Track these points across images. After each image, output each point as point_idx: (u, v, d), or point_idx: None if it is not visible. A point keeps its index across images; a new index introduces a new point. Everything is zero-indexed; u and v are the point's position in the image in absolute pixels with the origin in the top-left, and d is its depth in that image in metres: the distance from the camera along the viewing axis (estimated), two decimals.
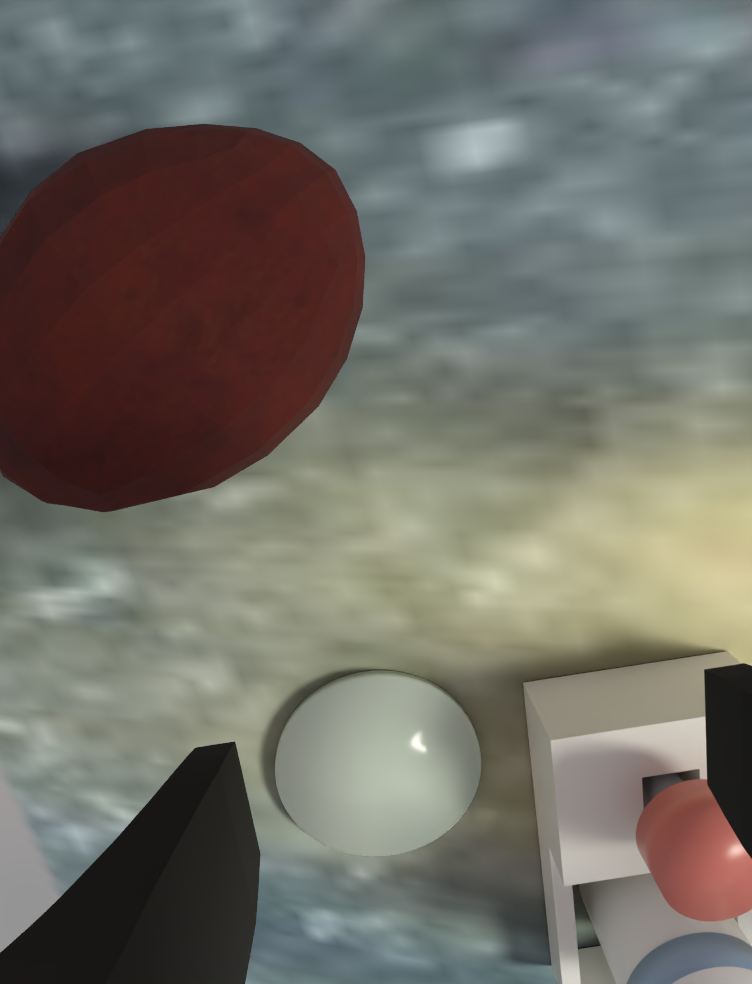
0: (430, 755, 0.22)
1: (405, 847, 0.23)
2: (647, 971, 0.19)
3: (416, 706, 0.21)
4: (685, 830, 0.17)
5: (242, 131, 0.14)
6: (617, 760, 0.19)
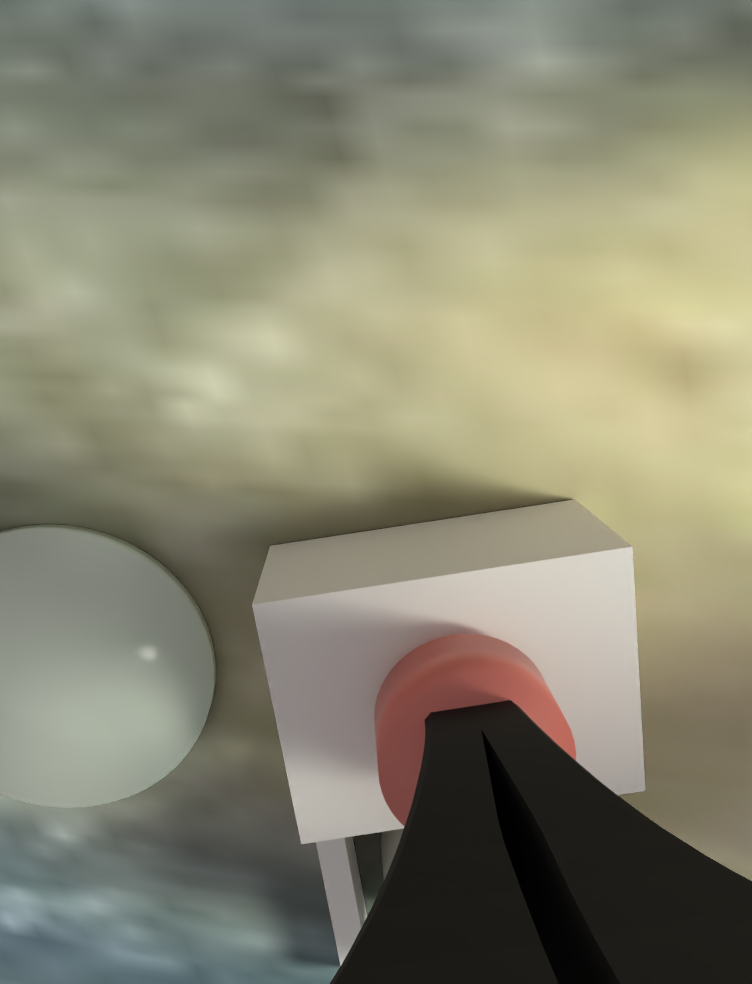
0: (133, 654, 0.15)
1: (112, 795, 0.15)
2: None
3: (103, 578, 0.14)
4: (414, 698, 0.10)
5: None
6: (365, 639, 0.12)
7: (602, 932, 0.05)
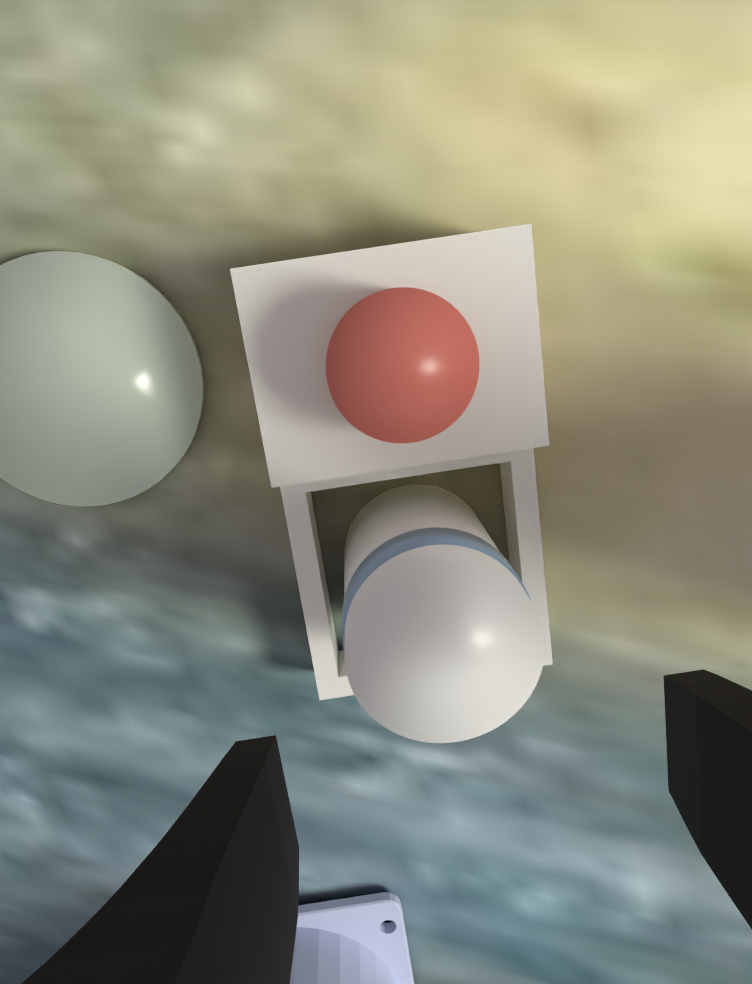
0: (135, 365, 0.18)
1: (118, 495, 0.19)
2: (359, 571, 0.15)
3: (111, 295, 0.17)
4: (352, 306, 0.13)
5: None
6: (320, 302, 0.15)
7: None
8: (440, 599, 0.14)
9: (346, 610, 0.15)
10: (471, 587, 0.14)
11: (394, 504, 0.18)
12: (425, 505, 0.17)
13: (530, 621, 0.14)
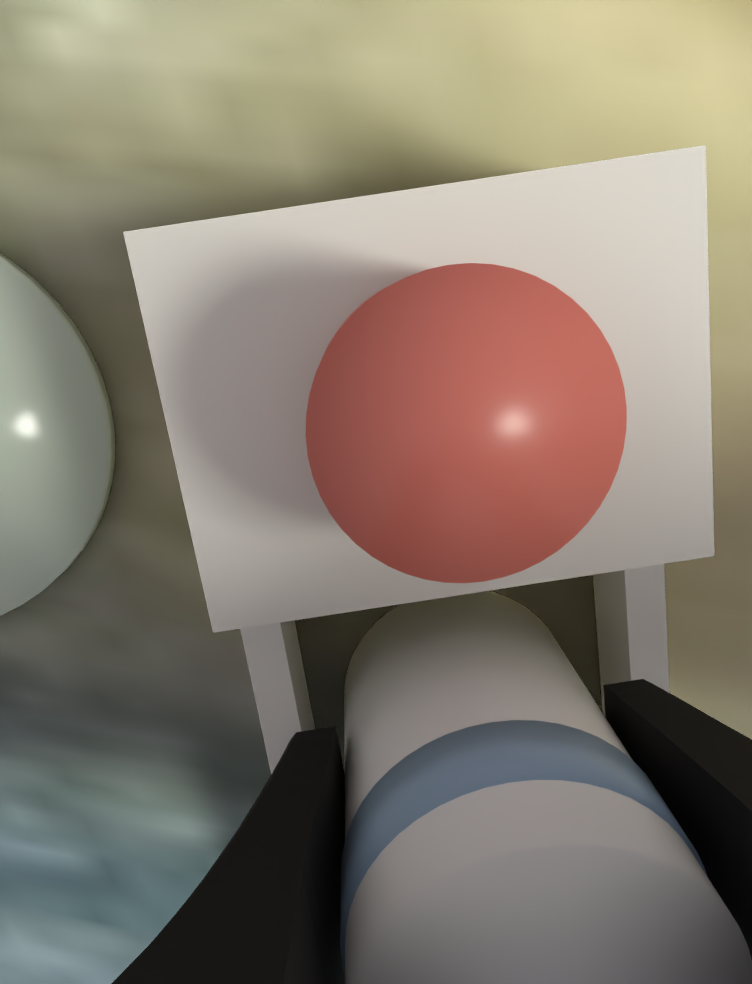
0: None
1: None
2: (373, 809, 0.08)
3: None
4: (363, 304, 0.06)
5: None
6: (299, 297, 0.08)
7: None
8: (547, 919, 0.07)
9: (349, 899, 0.07)
10: (612, 895, 0.06)
11: (428, 635, 0.11)
12: (484, 646, 0.10)
13: (728, 954, 0.07)
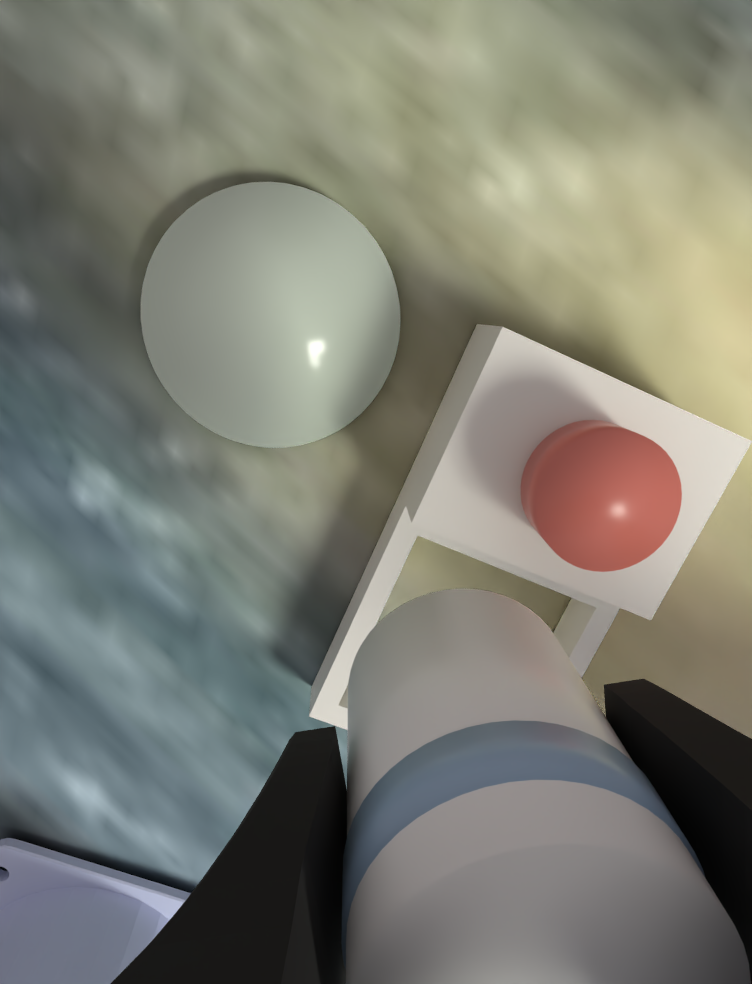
0: (336, 339, 0.18)
1: (244, 437, 0.18)
2: (374, 807, 0.08)
3: (357, 269, 0.17)
4: (604, 431, 0.14)
5: None
6: (554, 399, 0.16)
7: None
8: (544, 917, 0.07)
9: (349, 896, 0.08)
10: (608, 894, 0.07)
11: (429, 636, 0.11)
12: (485, 646, 0.10)
13: (724, 953, 0.07)
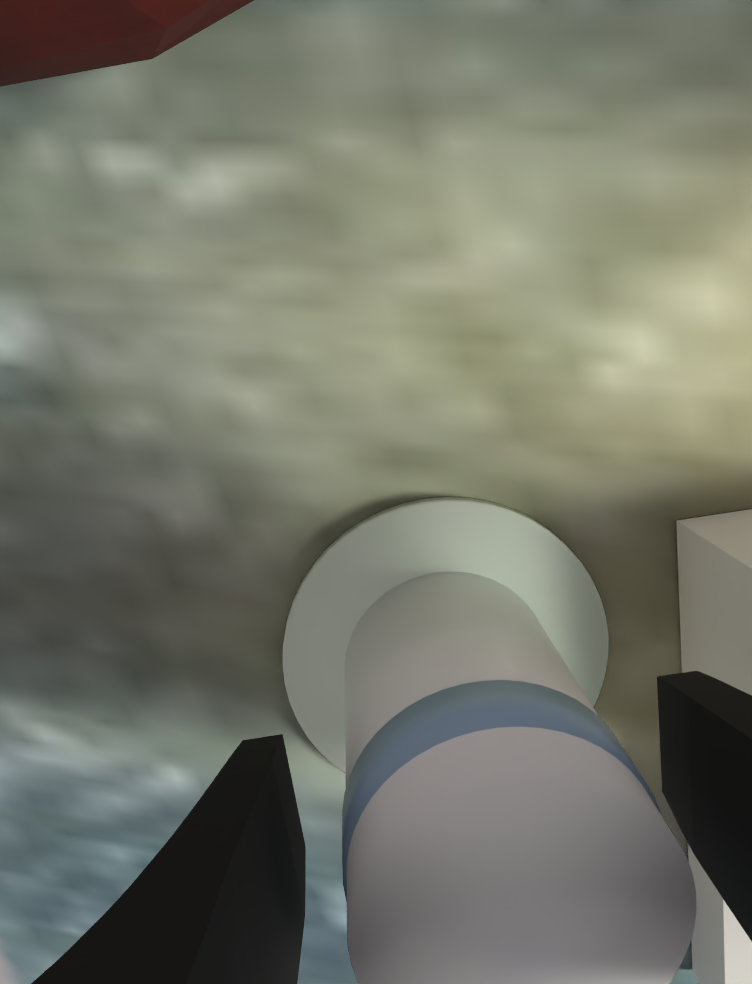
0: None
1: None
2: (365, 765, 0.09)
3: (510, 554, 0.13)
4: None
5: None
6: None
7: None
8: (509, 840, 0.08)
9: (347, 841, 0.09)
10: (564, 817, 0.08)
11: (412, 615, 0.12)
12: (462, 621, 0.11)
13: (669, 863, 0.08)
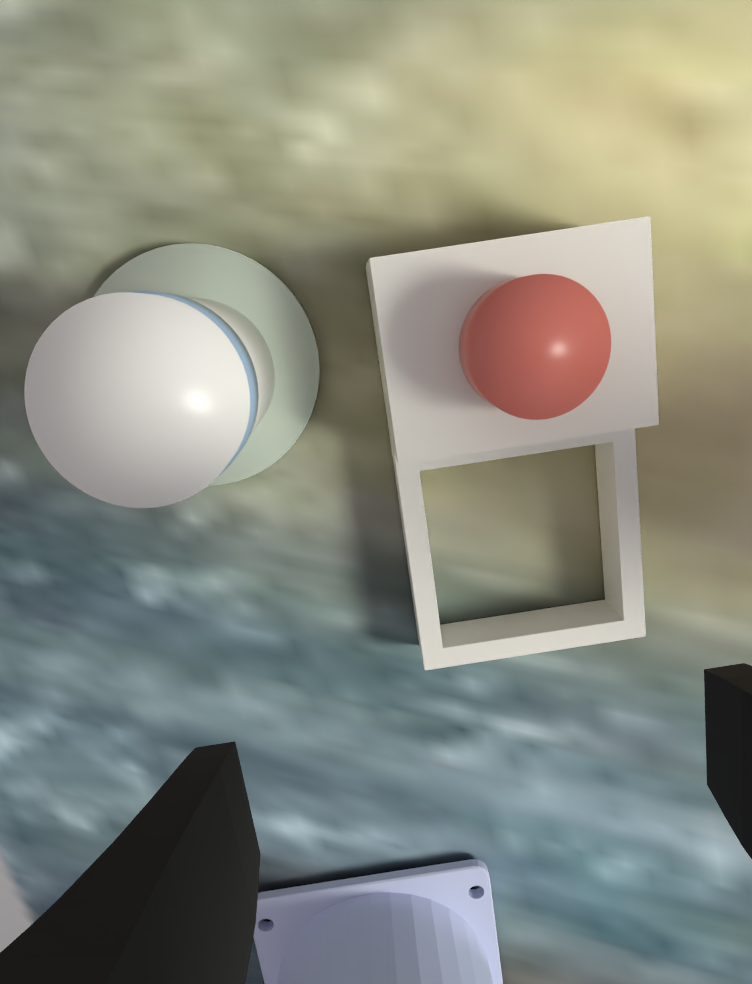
0: None
1: (237, 475, 0.20)
2: None
3: (238, 285, 0.18)
4: (496, 291, 0.14)
5: None
6: (451, 289, 0.16)
7: None
8: (117, 339, 0.13)
9: None
10: (148, 323, 0.13)
11: None
12: None
13: (221, 360, 0.13)
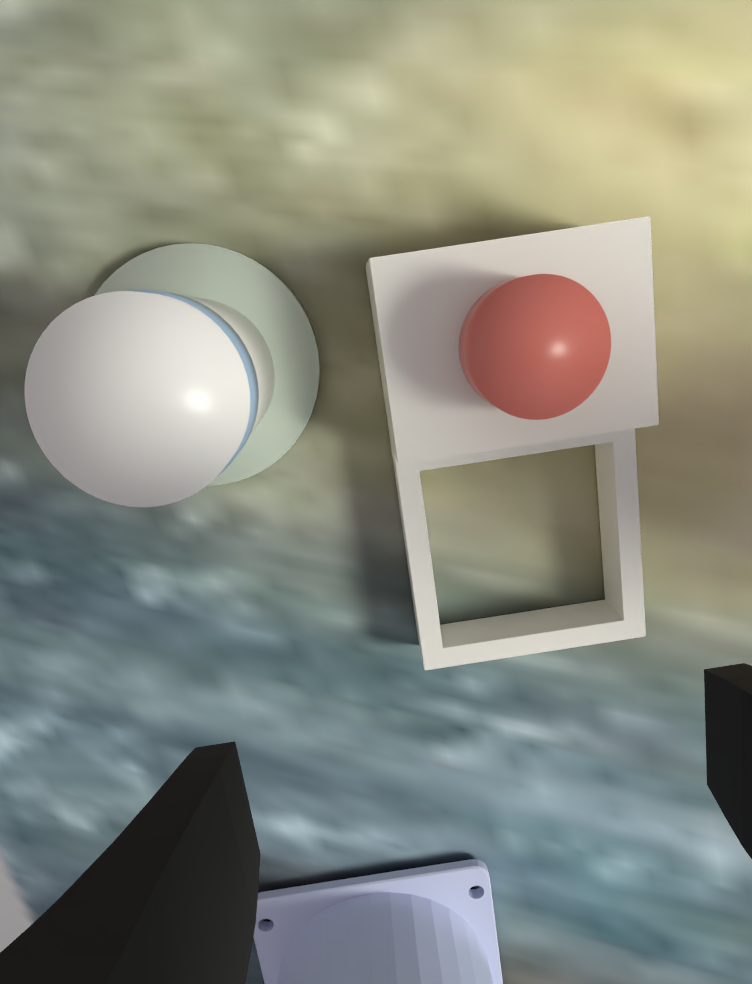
0: None
1: (236, 475, 0.20)
2: None
3: (238, 285, 0.18)
4: (496, 291, 0.14)
5: None
6: (451, 289, 0.16)
7: None
8: (118, 338, 0.13)
9: None
10: (149, 322, 0.13)
11: None
12: None
13: (221, 359, 0.13)
